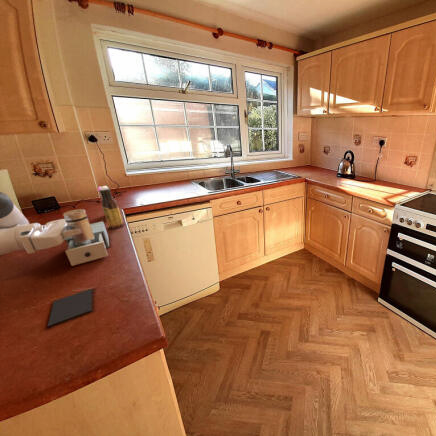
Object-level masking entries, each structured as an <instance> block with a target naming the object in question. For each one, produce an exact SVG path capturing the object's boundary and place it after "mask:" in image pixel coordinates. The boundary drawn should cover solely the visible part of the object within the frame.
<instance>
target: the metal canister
mask: <svg viewBox="0 0 436 436" xmlns="http://www.w3.org/2000/svg"><path fill="white" fill-rule="evenodd" d="M62 215H63V219H65V221H66V223H67V226H68V228H69V230H74V229H76V228H80V229H81V231H82V232H81V233H80V234H76V235H73V236H72V238H73V240H74V242H75V245H76V247H81V246H85V245H89V244H93V243H97V242H96V239H95V236H94V234H93V231H92V228H91V226H90V224H91V223H90V221H89V217H88V215H87V213H86V210H85V209H84V208H80V209H79V208H78V209H72V210H68V211H65V212H63V214H62Z"/></svg>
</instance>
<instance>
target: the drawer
mask: <svg viewBox="0 0 436 436" xmlns="http://www.w3.org/2000/svg"><path fill="white" fill-rule="evenodd" d="M94 236H95V239H96V242H97V243H93V244H89V245H85V246H81V247H76V245H75V242H74V240H73V239H71V240H70V242H69V246H68V245H67V249H65V254H66V256H67V258H68V259H67V260H68V261H69V262H70V265H71V266H72V267H73V266H76V265H80V264H85V263H87V262H91V261H95V260H99V259H101V258H105V257H108V256H109V253H108V250H107V248H106V245H105V242H104V239H103V236H102V233H97V234H94Z"/></svg>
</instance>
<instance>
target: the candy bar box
mask: <svg viewBox="0 0 436 436" xmlns="http://www.w3.org/2000/svg"><path fill="white" fill-rule="evenodd" d="M96 188H97V192H98V196H99V198H100V200H101V202H102V195H101V193H100V189H103V188H109V186H108V185H102V186H101V185H100V186H97V187H96Z"/></svg>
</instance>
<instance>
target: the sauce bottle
mask: <svg viewBox="0 0 436 436" xmlns="http://www.w3.org/2000/svg"><path fill="white" fill-rule="evenodd" d="M100 193H101V195H102V201H101V209H102V211H103V215H104V217H105V219H106V222H107V225H108V227H109V228H110V229H111V230H112V229H118V228H121V227H123V226H124V220H123V218H122V214H121V211H120V209H119V206H118V202H117V200H116V199H115V198H114V197H113V195H112V191H111V188H109V187H108V188H103V189H100Z"/></svg>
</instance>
